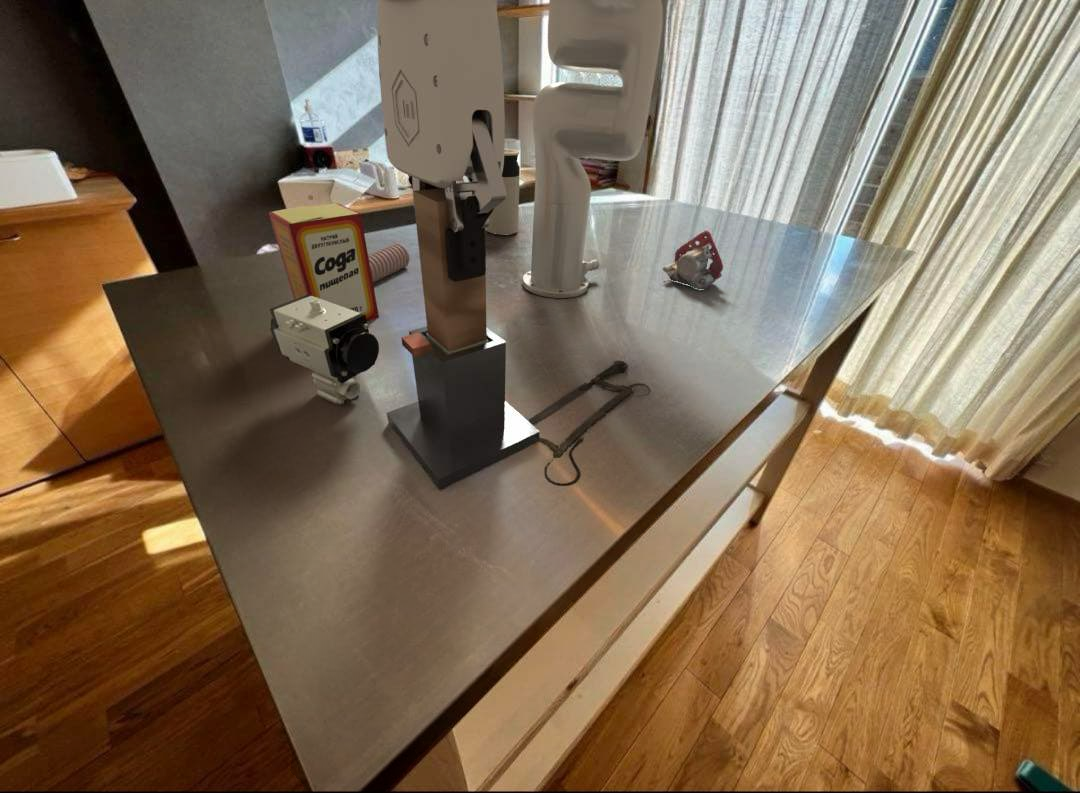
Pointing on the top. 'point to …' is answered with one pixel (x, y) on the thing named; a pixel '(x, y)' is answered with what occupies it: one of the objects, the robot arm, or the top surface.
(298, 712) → the top surface
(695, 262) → the brake caliper
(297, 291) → the baking soda box
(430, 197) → the column
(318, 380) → the pneumatic valve
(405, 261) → the coil
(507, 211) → the travel mug
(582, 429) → the hacksaw
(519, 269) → the top surface
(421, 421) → the sleeve
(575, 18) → the robot arm
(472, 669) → the top surface
